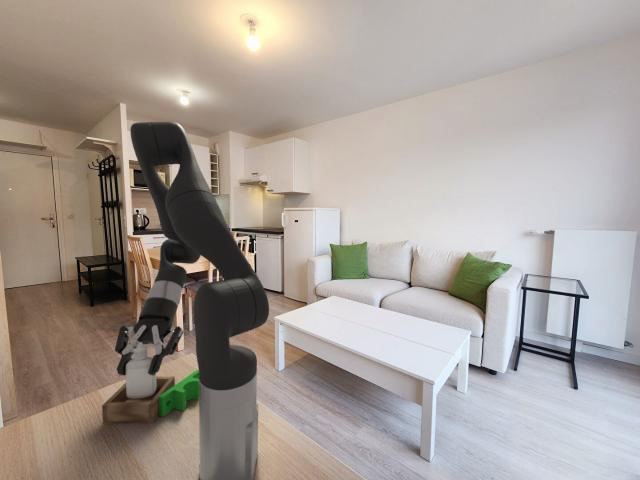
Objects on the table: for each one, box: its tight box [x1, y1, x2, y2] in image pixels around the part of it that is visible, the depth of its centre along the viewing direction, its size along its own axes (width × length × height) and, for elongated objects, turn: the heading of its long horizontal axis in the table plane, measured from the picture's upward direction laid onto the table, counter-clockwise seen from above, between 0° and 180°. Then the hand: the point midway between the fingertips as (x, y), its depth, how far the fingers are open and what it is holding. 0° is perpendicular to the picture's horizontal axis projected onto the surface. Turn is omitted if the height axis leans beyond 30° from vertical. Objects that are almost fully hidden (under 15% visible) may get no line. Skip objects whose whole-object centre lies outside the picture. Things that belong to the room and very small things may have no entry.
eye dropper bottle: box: [125, 342, 157, 399], centre depth 62 cm, size 4×6×12 cm
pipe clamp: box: [158, 369, 199, 418], centre depth 64 cm, size 11×4×5 cm, turn 161°
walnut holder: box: [101, 375, 176, 425], centre depth 62 cm, size 10×10×4 cm
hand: (136, 374), depth 60 cm, fingers closed on eye dropper bottle, 5 cm apart
